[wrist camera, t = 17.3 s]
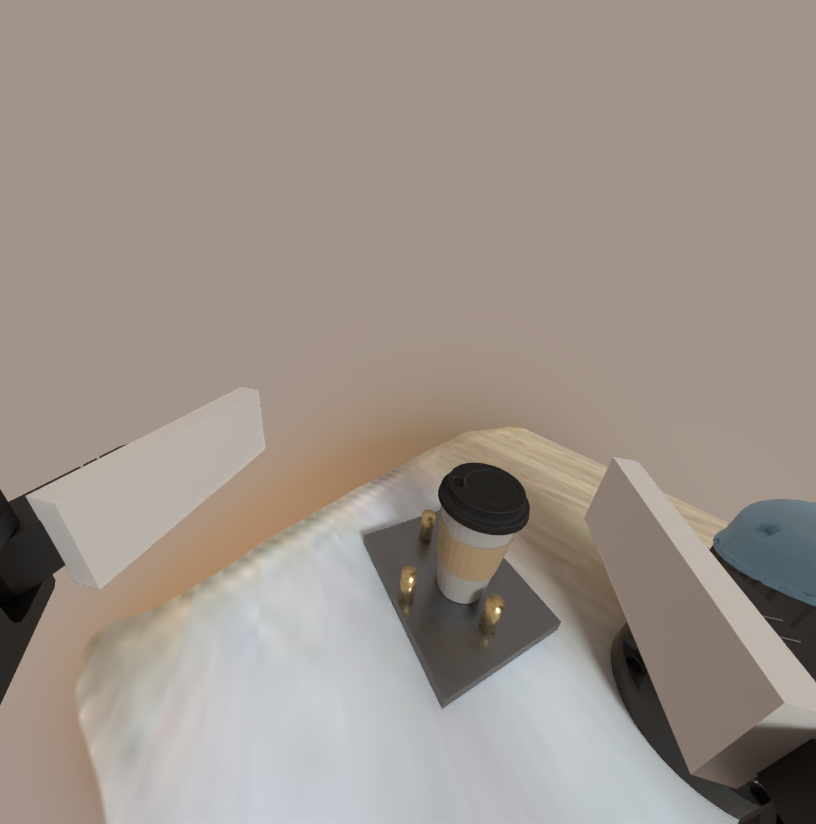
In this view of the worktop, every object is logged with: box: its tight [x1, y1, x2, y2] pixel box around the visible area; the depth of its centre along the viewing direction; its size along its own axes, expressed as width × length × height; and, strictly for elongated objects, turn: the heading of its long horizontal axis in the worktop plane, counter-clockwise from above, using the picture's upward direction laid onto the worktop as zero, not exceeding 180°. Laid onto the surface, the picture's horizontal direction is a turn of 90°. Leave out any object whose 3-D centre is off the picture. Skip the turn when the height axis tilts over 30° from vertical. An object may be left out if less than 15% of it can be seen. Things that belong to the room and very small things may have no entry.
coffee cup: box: [437, 463, 530, 604], centre depth 35 cm, size 9×9×15 cm
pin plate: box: [364, 510, 561, 708], centre depth 39 cm, size 20×16×6 cm
